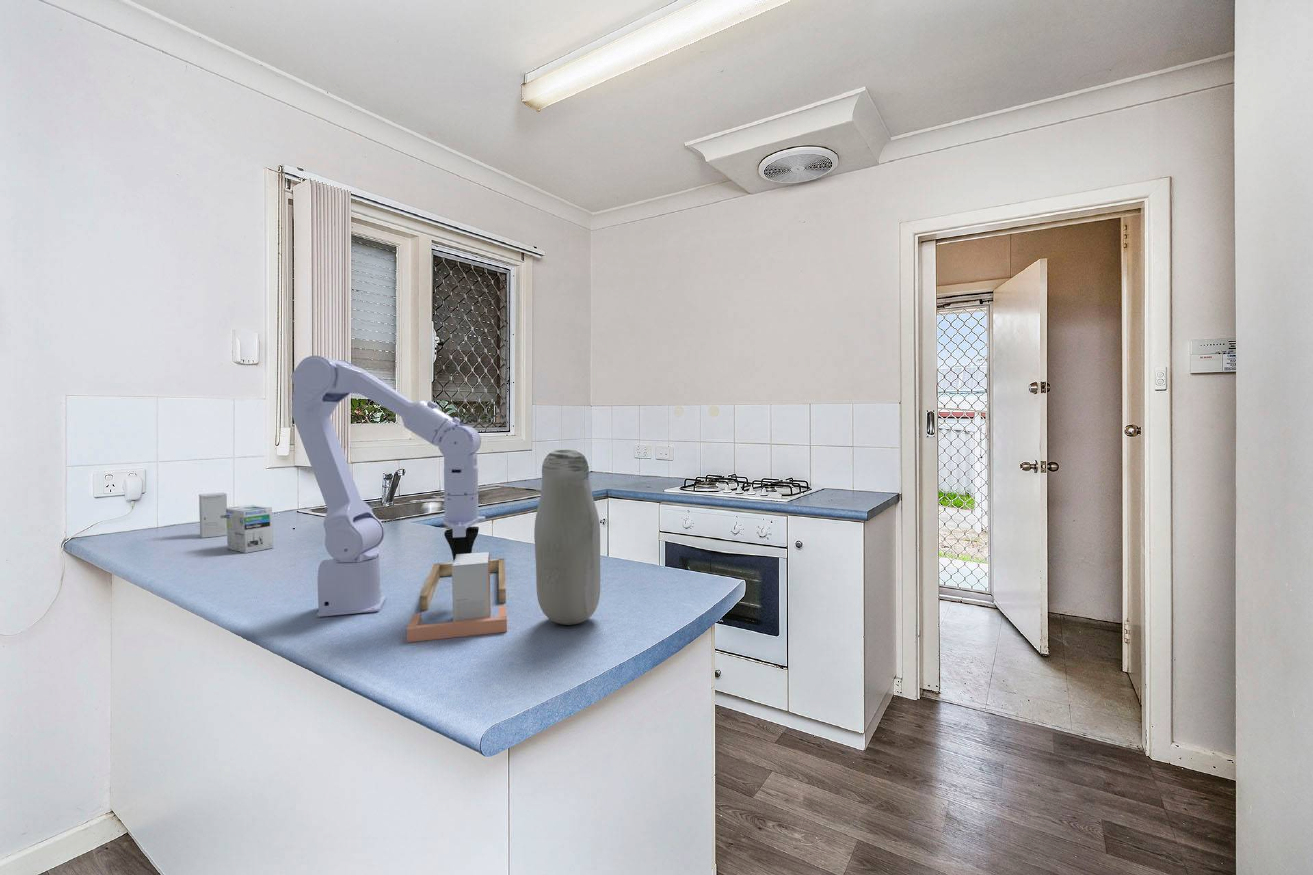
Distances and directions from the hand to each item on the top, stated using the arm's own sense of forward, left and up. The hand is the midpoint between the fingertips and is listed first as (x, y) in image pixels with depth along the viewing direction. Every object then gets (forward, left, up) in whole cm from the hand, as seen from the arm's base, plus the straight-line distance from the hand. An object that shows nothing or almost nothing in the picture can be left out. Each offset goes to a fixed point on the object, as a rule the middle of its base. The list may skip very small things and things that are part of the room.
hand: (462, 569), depth 103 cm
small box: (+2, -9, -7) cm, 12 cm away
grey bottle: (+17, -14, -7) cm, 23 cm away
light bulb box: (-56, +63, -7) cm, 84 cm away
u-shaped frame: (0, +10, -6) cm, 12 cm away
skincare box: (-73, +85, -7) cm, 112 cm away
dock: (0, -12, -6) cm, 14 cm away
